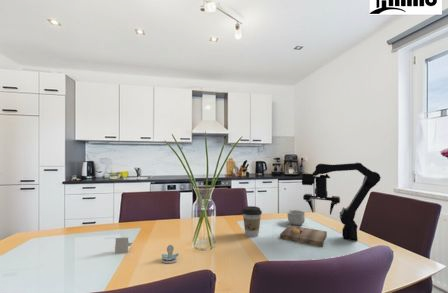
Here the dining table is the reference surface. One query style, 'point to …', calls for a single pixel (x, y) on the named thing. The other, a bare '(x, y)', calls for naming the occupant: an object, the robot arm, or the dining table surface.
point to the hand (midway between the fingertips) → (321, 213)
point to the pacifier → (169, 255)
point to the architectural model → (122, 245)
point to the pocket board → (304, 236)
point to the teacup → (296, 217)
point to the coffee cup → (251, 220)
